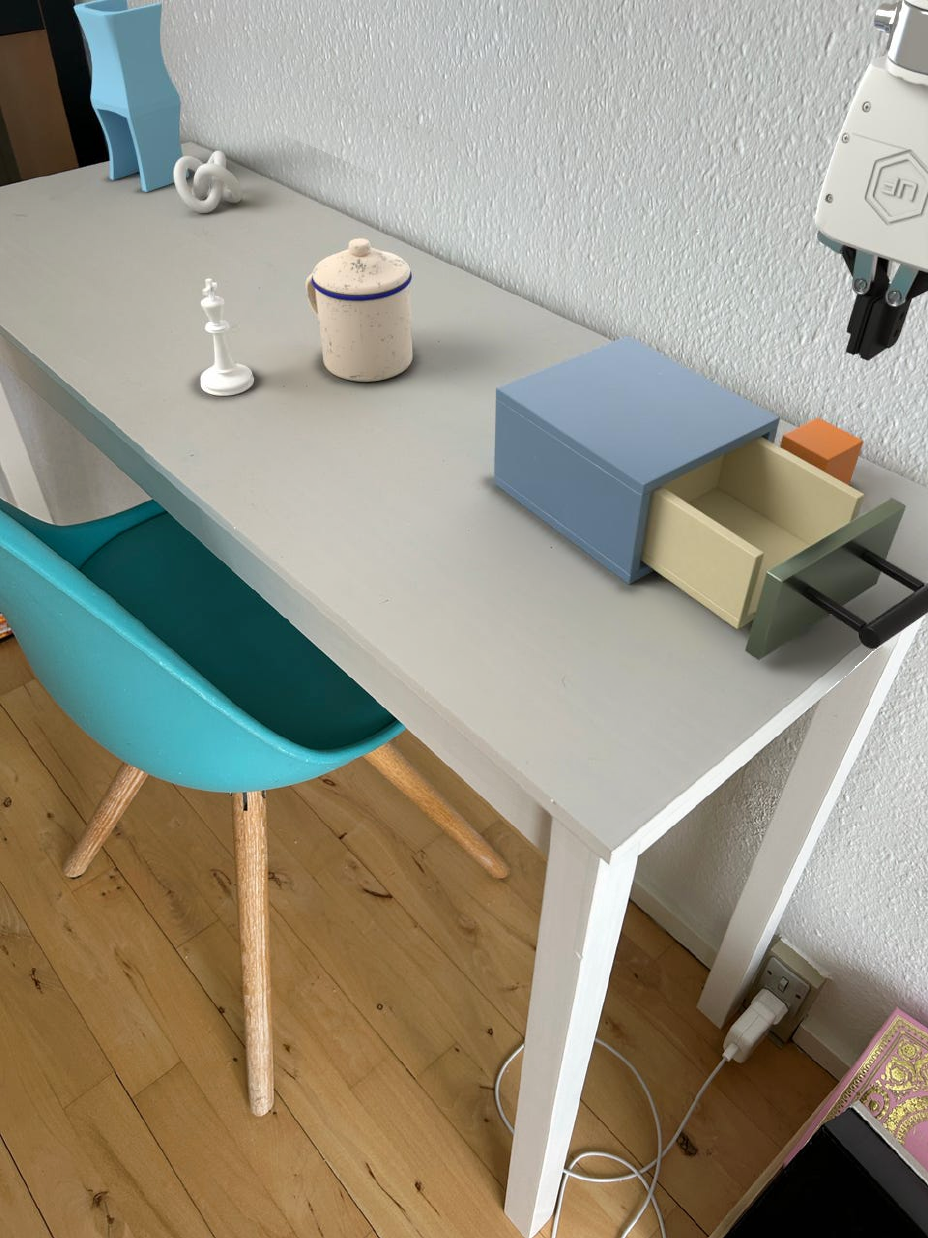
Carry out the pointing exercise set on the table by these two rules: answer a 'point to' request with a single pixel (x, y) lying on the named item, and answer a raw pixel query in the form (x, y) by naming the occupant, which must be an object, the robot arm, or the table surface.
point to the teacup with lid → (363, 312)
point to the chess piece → (221, 351)
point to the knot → (206, 182)
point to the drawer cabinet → (613, 442)
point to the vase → (133, 90)
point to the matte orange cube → (825, 448)
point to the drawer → (776, 546)
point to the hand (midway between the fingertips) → (867, 349)
